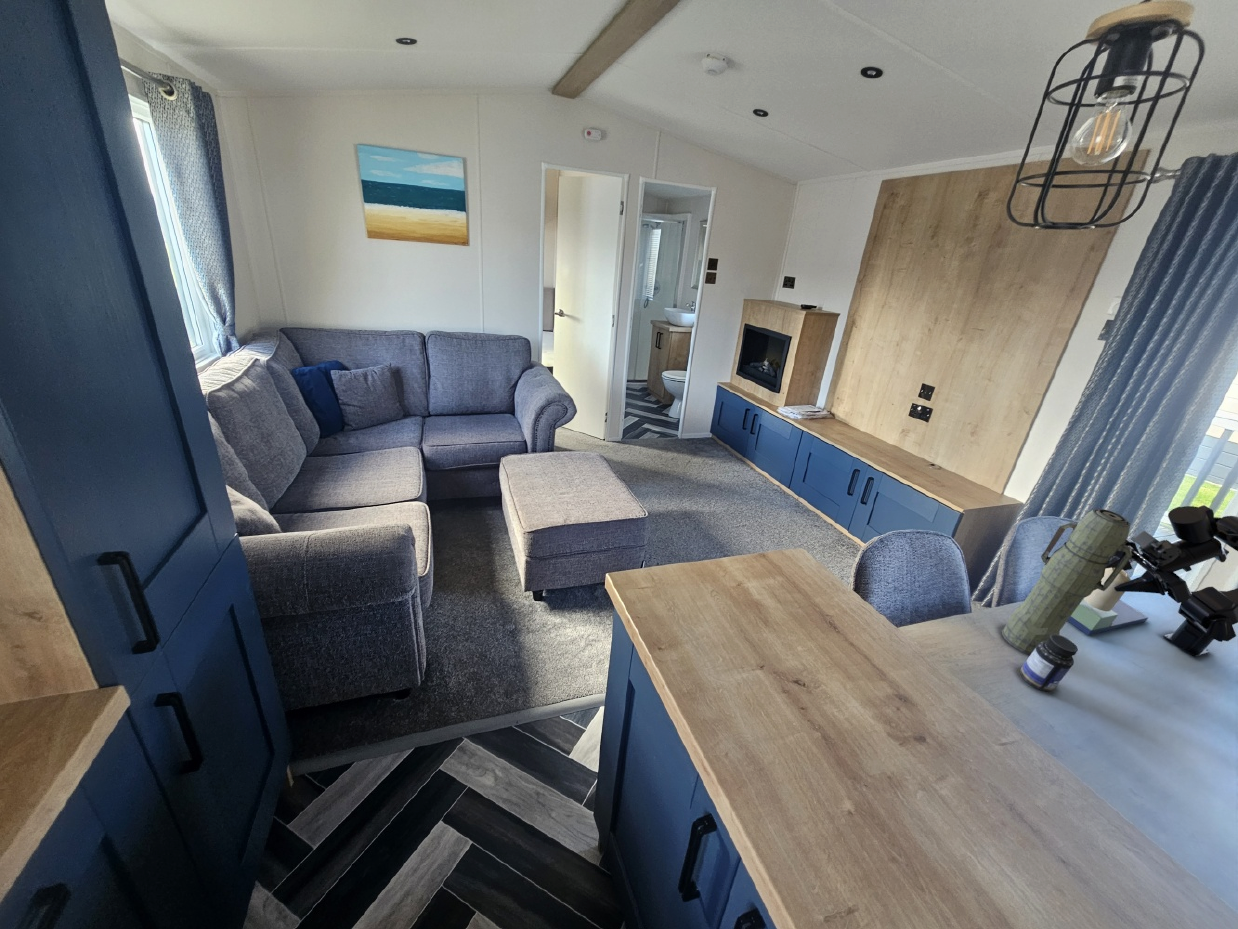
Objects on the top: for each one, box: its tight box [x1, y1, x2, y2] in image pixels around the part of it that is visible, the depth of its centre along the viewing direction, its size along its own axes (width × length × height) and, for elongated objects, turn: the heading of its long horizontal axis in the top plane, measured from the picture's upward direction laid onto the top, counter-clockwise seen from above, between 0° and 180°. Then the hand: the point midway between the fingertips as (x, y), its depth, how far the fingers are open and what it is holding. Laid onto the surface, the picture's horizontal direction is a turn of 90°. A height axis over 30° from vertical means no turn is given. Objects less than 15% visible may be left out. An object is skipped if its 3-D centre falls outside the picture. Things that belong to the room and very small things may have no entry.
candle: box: [1084, 568, 1132, 611], centre depth 122 cm, size 6×6×10 cm
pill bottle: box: [1019, 634, 1079, 692], centre depth 105 cm, size 6×6×11 cm
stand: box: [1067, 599, 1149, 636], centre depth 130 cm, size 24×8×6 cm, turn 110°
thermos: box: [1001, 508, 1132, 656], centre depth 110 cm, size 9×12×35 cm
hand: (1106, 581), depth 122 cm, fingers closed on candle, 5 cm apart
